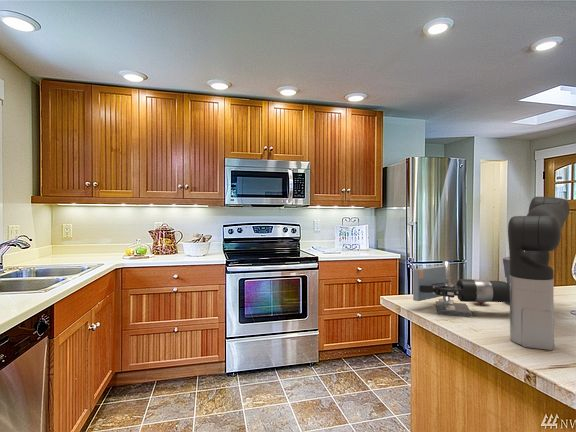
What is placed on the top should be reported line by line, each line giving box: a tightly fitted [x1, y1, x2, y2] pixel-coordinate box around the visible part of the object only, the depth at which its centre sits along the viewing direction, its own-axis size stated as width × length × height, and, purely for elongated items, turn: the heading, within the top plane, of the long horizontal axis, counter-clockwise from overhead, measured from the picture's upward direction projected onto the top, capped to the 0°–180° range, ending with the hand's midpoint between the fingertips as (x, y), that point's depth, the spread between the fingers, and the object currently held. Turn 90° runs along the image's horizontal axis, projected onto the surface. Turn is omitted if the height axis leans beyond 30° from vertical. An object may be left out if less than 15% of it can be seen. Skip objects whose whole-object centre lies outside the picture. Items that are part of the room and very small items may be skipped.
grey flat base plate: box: [435, 300, 472, 318], centre depth 114 cm, size 12×10×2 cm
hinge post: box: [438, 260, 455, 303], centre depth 124 cm, size 5×5×16 cm
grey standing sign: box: [412, 265, 446, 302], centre depth 118 cm, size 16×3×11 cm, turn 121°
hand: (420, 288), depth 113 cm, fingers closed
